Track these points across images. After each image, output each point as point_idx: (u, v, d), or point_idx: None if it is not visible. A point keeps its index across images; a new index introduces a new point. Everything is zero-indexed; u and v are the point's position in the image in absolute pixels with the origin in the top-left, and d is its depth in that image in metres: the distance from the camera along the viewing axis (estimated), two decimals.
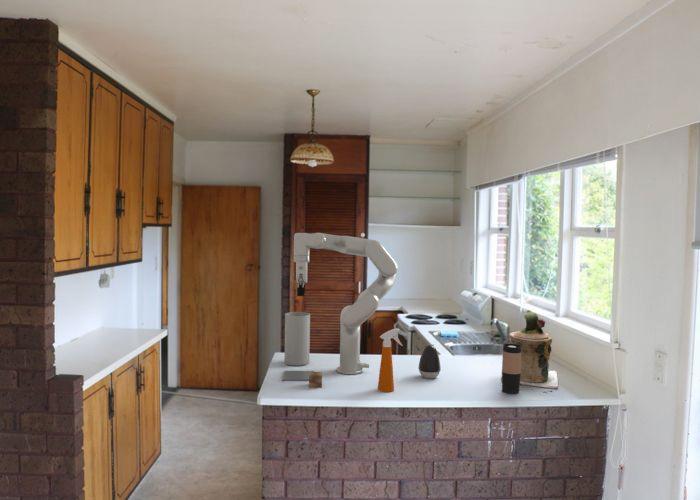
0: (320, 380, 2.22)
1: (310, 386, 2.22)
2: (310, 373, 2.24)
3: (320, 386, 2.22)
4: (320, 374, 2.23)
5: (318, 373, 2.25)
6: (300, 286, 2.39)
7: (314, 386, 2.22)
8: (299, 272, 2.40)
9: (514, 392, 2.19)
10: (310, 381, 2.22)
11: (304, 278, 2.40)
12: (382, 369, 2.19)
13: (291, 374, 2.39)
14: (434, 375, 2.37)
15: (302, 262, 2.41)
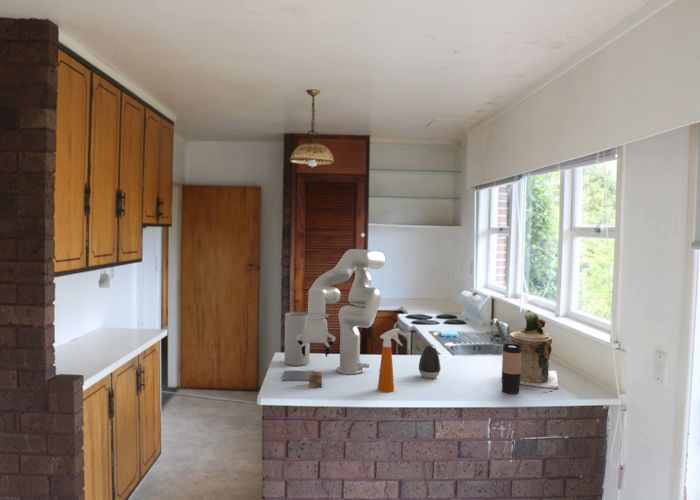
0: (320, 380, 2.22)
1: (310, 386, 2.22)
2: (310, 373, 2.24)
3: (320, 386, 2.22)
4: (320, 374, 2.23)
5: (318, 373, 2.25)
6: None
7: (314, 386, 2.22)
8: (327, 330, 2.23)
9: (514, 392, 2.19)
10: (310, 381, 2.22)
11: None
12: (382, 369, 2.19)
13: (291, 374, 2.39)
14: (434, 375, 2.37)
15: (325, 319, 2.24)
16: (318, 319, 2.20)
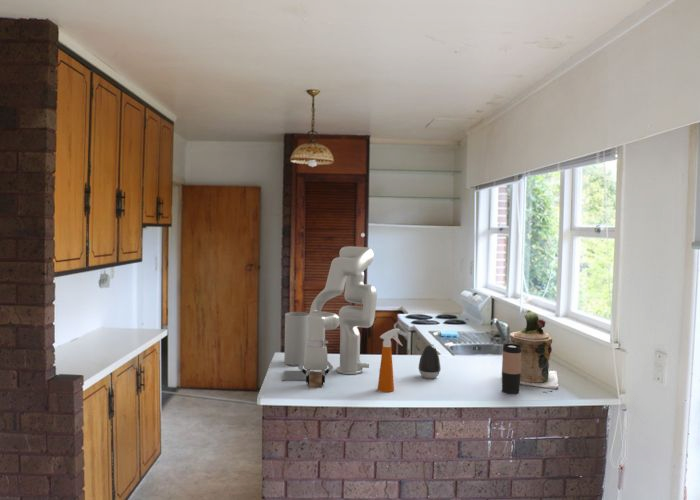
0: (320, 380, 2.22)
1: (310, 386, 2.22)
2: (310, 373, 2.24)
3: (320, 386, 2.22)
4: (320, 374, 2.23)
5: (318, 373, 2.25)
6: None
7: (314, 386, 2.22)
8: (327, 357, 2.24)
9: (514, 392, 2.19)
10: (310, 381, 2.22)
11: None
12: (382, 369, 2.19)
13: (291, 374, 2.39)
14: (434, 375, 2.37)
15: (325, 346, 2.25)
16: (318, 346, 2.20)
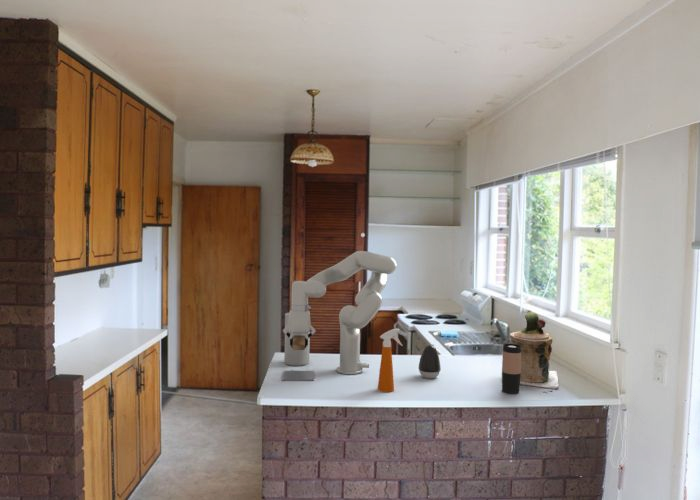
0: (303, 342, 2.35)
1: (294, 348, 2.35)
2: (294, 336, 2.37)
3: (303, 348, 2.35)
4: (303, 337, 2.36)
5: (301, 336, 2.38)
6: None
7: (297, 348, 2.35)
8: None
9: (514, 392, 2.19)
10: (294, 343, 2.35)
11: None
12: (382, 369, 2.19)
13: (291, 374, 2.39)
14: (434, 375, 2.37)
15: (308, 311, 2.38)
16: (301, 311, 2.33)
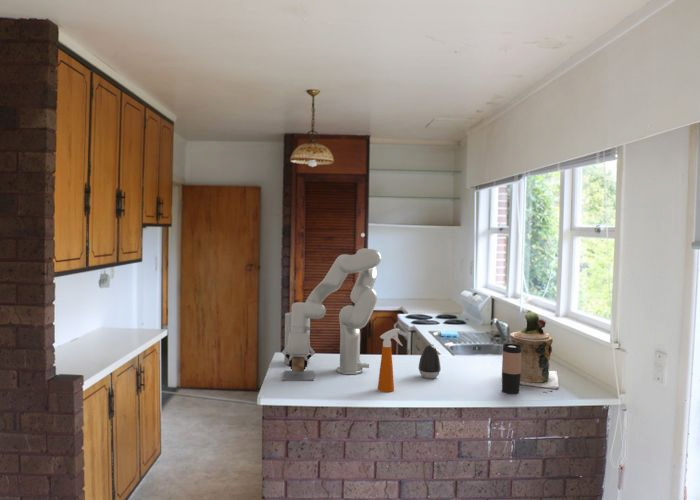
0: (302, 364, 2.35)
1: (293, 370, 2.35)
2: (293, 357, 2.38)
3: (302, 370, 2.35)
4: (302, 358, 2.37)
5: (301, 358, 2.38)
6: None
7: (296, 370, 2.35)
8: (309, 343, 2.37)
9: (514, 392, 2.19)
10: (293, 365, 2.35)
11: None
12: (382, 369, 2.19)
13: (291, 374, 2.39)
14: (434, 375, 2.37)
15: (308, 332, 2.38)
16: (300, 332, 2.34)
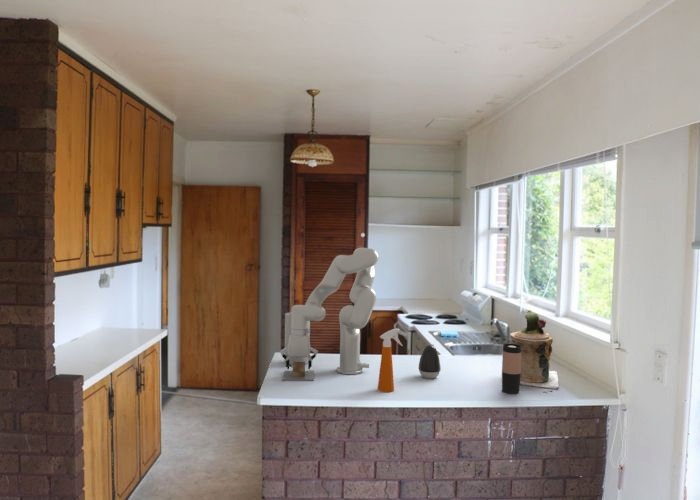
0: (303, 369, 2.36)
1: (293, 375, 2.35)
2: (294, 363, 2.38)
3: (303, 375, 2.36)
4: (303, 364, 2.37)
5: (301, 363, 2.38)
6: None
7: (297, 375, 2.36)
8: (309, 345, 2.37)
9: (514, 392, 2.19)
10: (293, 370, 2.35)
11: None
12: (382, 369, 2.19)
13: (291, 374, 2.39)
14: (434, 375, 2.37)
15: (308, 334, 2.38)
16: (300, 335, 2.34)
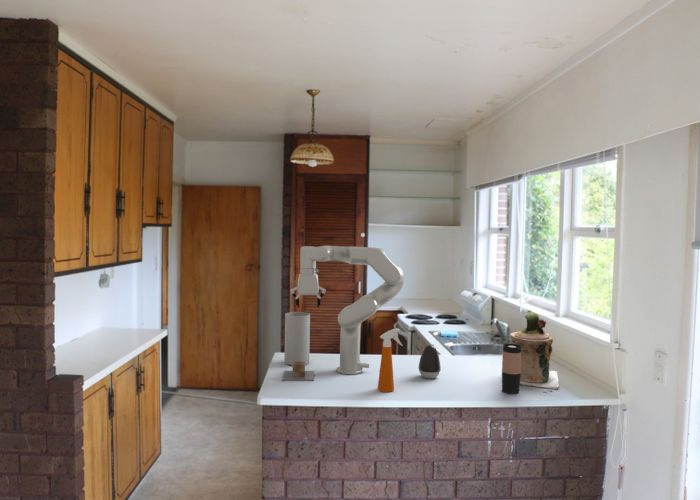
0: (303, 369, 2.36)
1: (293, 375, 2.35)
2: (294, 363, 2.38)
3: (303, 375, 2.36)
4: (303, 364, 2.37)
5: (301, 363, 2.38)
6: None
7: (297, 375, 2.36)
8: (318, 284, 2.50)
9: (514, 392, 2.19)
10: (293, 370, 2.35)
11: None
12: (382, 369, 2.19)
13: (291, 374, 2.39)
14: (434, 375, 2.37)
15: (316, 274, 2.51)
16: (310, 273, 2.46)
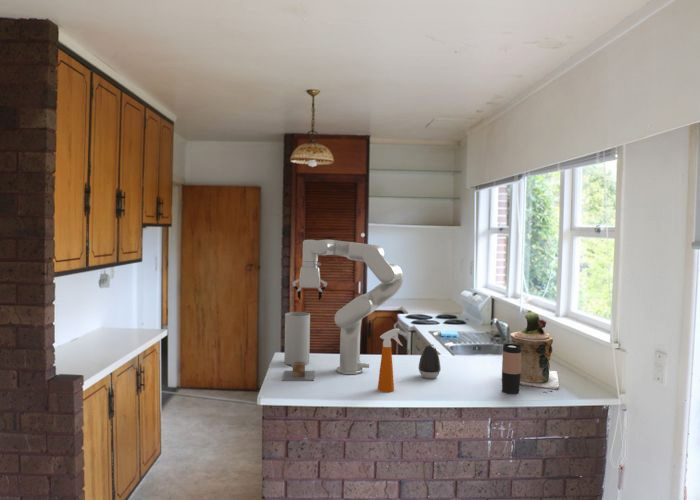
0: (303, 369, 2.36)
1: (293, 375, 2.35)
2: (294, 363, 2.38)
3: (303, 375, 2.36)
4: (303, 364, 2.37)
5: (301, 363, 2.38)
6: (322, 290, 2.54)
7: (297, 375, 2.36)
8: None
9: (514, 392, 2.19)
10: (293, 370, 2.35)
11: None
12: (382, 369, 2.19)
13: (291, 374, 2.39)
14: (434, 375, 2.37)
15: None
16: (311, 266, 2.50)
